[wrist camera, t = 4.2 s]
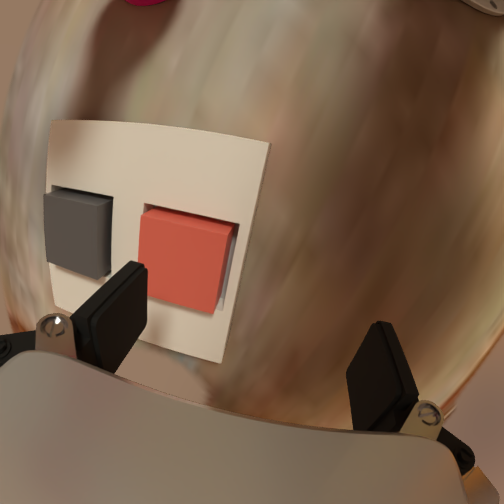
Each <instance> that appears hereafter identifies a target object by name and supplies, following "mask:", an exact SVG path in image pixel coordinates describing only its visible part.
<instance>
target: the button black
mask: <svg viewBox="0 0 504 504" xmlns="http://www.w3.org/2000/svg"><path fill="white" fill-rule="evenodd" d="M113 199H114V197H113V196H108V195H103V194H98V193H93V192H88V191H82V190H77V189H72V188H62V189H59V190H56V191H53V192H50V193H46V194H44V232H45V246H46V257H47V262H50V263H52V264H55V265H57V266H60V267H63V268H65V269H68V270H71V271H73V272H76V273H79V274H82V275H84V276H87V277H90V278H93V279H96V280H99V279H100V278H101V277H102V276H103V275H105V274H106V273H107V272H108V271H109V270H111V244H112V215H113Z"/></svg>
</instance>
